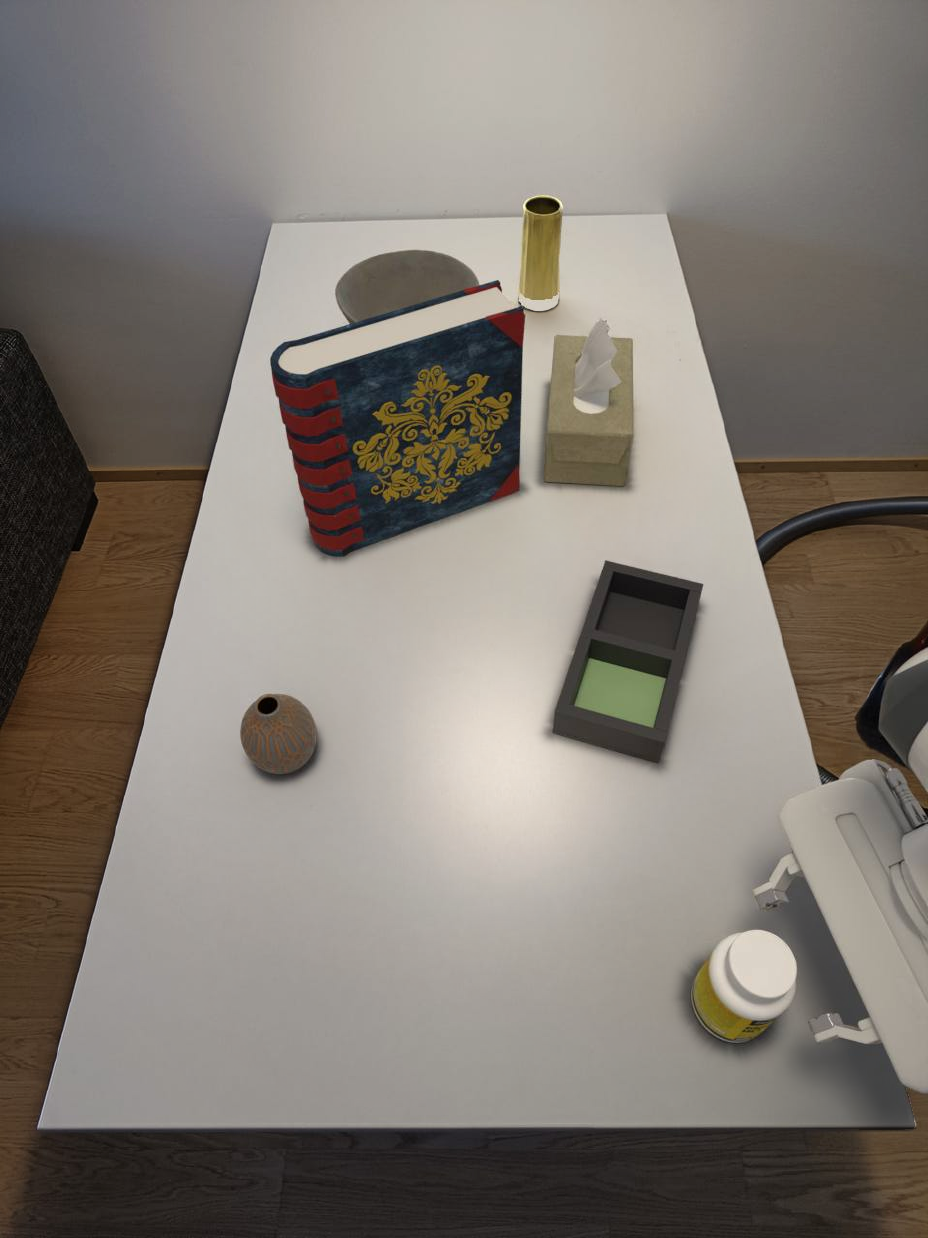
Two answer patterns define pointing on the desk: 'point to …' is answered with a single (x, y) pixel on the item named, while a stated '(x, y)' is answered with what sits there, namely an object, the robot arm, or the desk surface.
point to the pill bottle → (744, 985)
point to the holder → (628, 661)
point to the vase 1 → (278, 733)
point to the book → (404, 415)
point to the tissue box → (590, 409)
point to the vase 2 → (540, 248)
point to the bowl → (399, 282)
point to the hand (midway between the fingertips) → (786, 963)
